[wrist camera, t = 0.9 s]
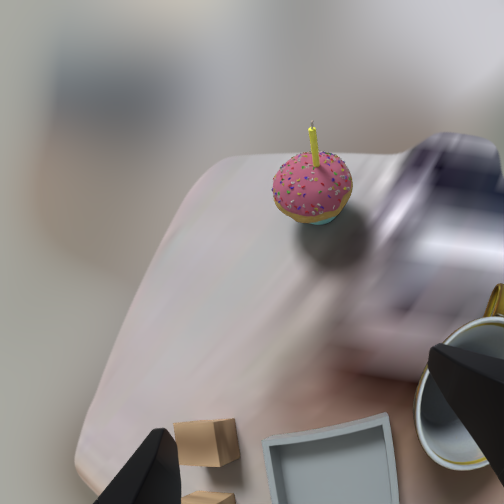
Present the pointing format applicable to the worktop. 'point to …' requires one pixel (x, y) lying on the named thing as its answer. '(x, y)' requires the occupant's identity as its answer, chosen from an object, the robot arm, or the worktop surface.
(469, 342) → the ceramic cup
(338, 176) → the cupcake
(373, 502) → the tray
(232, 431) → the block
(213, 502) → the block
